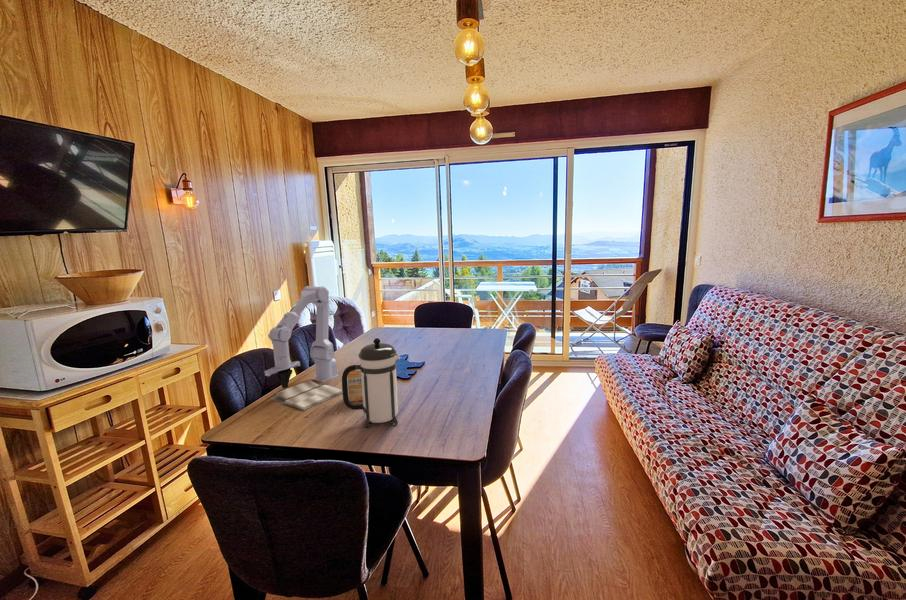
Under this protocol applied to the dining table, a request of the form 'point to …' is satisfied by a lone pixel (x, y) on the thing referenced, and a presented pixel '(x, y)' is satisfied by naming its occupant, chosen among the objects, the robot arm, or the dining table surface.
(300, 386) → the loose plank
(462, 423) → the dining table surface
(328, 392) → the floor panel
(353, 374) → the supplement box
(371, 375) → the coffee press
